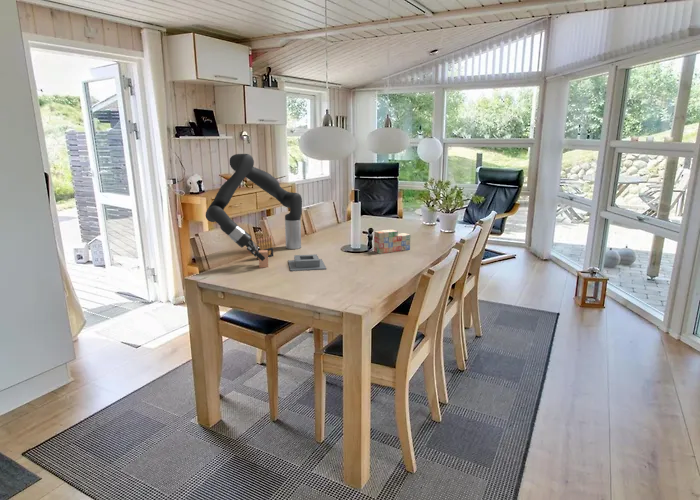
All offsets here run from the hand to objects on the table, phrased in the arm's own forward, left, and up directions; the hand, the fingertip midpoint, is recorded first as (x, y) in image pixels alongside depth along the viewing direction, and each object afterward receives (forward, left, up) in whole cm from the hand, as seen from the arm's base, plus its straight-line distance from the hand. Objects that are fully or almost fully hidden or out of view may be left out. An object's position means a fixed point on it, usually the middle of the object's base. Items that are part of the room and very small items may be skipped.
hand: (263, 257), depth 227 cm
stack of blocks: (-21, +75, -5) cm, 78 cm away
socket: (+2, +22, -5) cm, 22 cm away
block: (0, 0, -5) cm, 5 cm away
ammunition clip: (-17, +1, -5) cm, 18 cm away
